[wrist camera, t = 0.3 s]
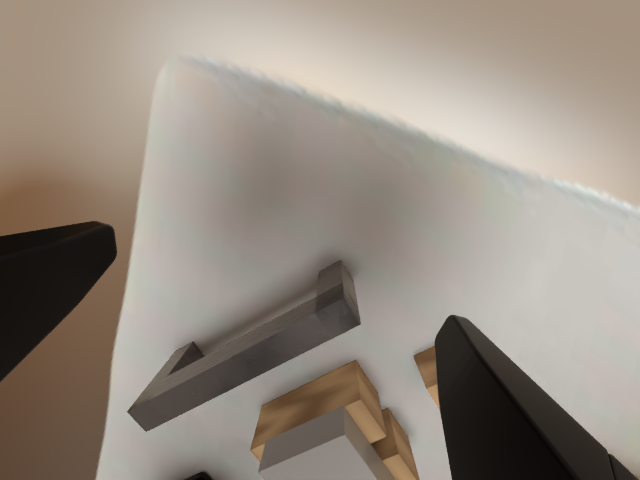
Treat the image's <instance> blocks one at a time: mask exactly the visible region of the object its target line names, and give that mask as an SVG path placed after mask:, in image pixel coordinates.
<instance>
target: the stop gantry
mask: <svg viewBox="0 0 640 480" xmlns="http://www.w3.org/2000/svg"><path fill="white" fill-rule="evenodd" d="M360 324H361V322H360V317H359V311H358V305H357V299H356V294H355V288H354V282H353V279H352V278H351V276H350V274H349V273H348V271H347V269H346V268H345V266H344V265H343V263H342V261H341V260H340V261H338V262H336V263H335V264H333V265H331V266H329V267H327V268H326V269H324V270H322V271H320V272H319V278H318V288H317V296H316V297H314V298H313V299H311V300H309V301H307V302H305V303H303V304H301V305H300V306H298V307H296V308H294V309H292V310H290V311H288V312H286V313H285V314H283V315H281V316H279V317H277V318H275V319H273V320H272V321H270V322H268V323H266V324H264V325H262V326H260V327H258V328H257V329H255V330H253V331H251V332H249V333H247V334H245V335H244V336H242V337H240V338H238V339H236V340H234V341H232V342H230V343H229V344H227V345H225V346H223V347H221V348H219V349H217V350H216V351H214V352H212V353H210V354H208V355H206V356H204V355H203V354H202V353H201V351H200V350H199V349H198V348H197V346H196V345H195V344H194V343H193V342H191V343H190V344H188V345H186V346H184V347H182V348H180V349H179V350H177V351H175V352H174V354H173V355H172V356H171V357H170V359H169V360H168V361H167V362H166V364H165V365H164V366H163V367H162V369H161V370H160V371H159V372H158V374H157V375H156V376H155V377H154V379H153V380H152V381H151V382H150V384H149V385H148V386H147V387H146V389H145V390H144V391H143V392H142V394H141V395H140V396H139V397H138V399H137V400H136V401H135V402H134V404H133V405H132V406H131V408H130V409H129V410H128V411H127V412H128V413H129V414H130V415H131V416H132V417H133V419H134V420H135V421H136V422H137V423H138V424H139V425H140V426H141V427H142V428H143V429H144V430H145V431H146V432H147V431H149V430H151V429H153V428H155V427H157V426H159V425H161V424H163V423H165V422H167V421H169V420H171V419H173V418H175V417H177V416H179V415H181V414H183V413H185V412H187V411H189V410H191V409H193V408H195V407H197V406H199V405H201V404H203V403H205V402H207V401H209V400H211V399H213V398H215V397H217V396H219V395H221V394H223V393H225V392H227V391H229V390H231V389H233V388H235V387H237V386H239V385H241V384H243V383H245V382H247V381H249V380H251V379H253V378H255V377H257V376H259V375H261V374H263V373H265V372H267V371H268V370H270V369H272V368H274V367H276V366H278V365H280V364H282V363H284V362H286V361H288V360H290V359H292V358H294V357H296V356H298V355H300V354H302V353H304V352H306V351H308V350H310V349H312V348H314V347H316V346H318V345H320V344H322V343H324V342H326V341H328V340H330V339H332V338H334V337H336V336H338V335H340V334H342V333H344V332H346V331H348V330H350V329H352V328H354V327H356V326H358V325H360Z"/></svg>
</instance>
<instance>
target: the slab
mask: <svg viewBox="0 0 640 480" xmlns="http://www.w3.org/2000/svg"><path fill="white" fill-rule="evenodd" d="M258 472H259V473H260V475H261V476H262V477H263V478H264V479H265V480H395V478H394V477H393V475H392V474H391V473H390V471H389V470H388V468H387V467H386V465H385V464H384V463H383V461H382V460H381V458H380V457H379V455H378V454H377V453H376V451H375V450H374V448H373V447H372V446H371V444H370V443H369V441H368V440H367V438H366V437H365V436H364V434H363V433H362V431H361V430H360V428H359V427H358V426H357V424H356V423H355V421H354V420H353V418H352V417H351V416H350V414H349V413H348V411H347V410H346V409H345V407H344V406H341V407H339V408H337V409H335V410H332V411H330V412H328V413H326V414H324V415H321V416H319V417H317V418H315V419H313V420H310V421H308V422H306V423H304V424H301V425H299V426H297V427H295V428H293V429H290V430H288V431H286V432H284V433H282V434H279V435H277V436H275V437H273V438H270V439H268V440H266V441H265V445H264V450H263V454H262V458H261V463H260V467H259V471H258Z"/></svg>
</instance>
